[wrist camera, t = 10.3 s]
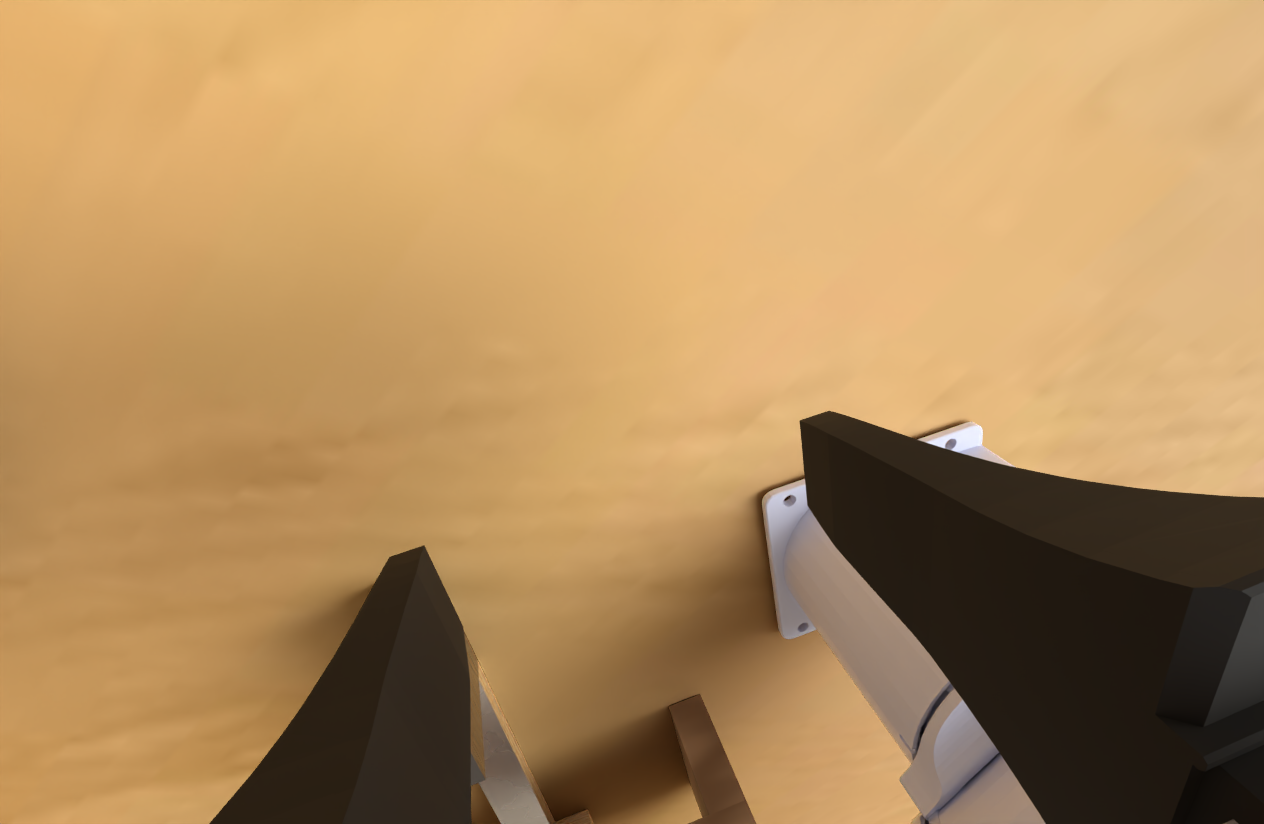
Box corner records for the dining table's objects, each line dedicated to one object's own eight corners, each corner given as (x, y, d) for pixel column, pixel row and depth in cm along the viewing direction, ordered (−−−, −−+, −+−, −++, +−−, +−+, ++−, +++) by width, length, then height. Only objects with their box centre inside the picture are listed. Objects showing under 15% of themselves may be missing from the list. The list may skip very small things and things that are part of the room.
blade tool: (332, 597, 22) (306, 721, 18) (476, 548, 22) (485, 656, 18) (491, 861, 30) (500, 989, 26) (592, 820, 31) (617, 938, 27)
